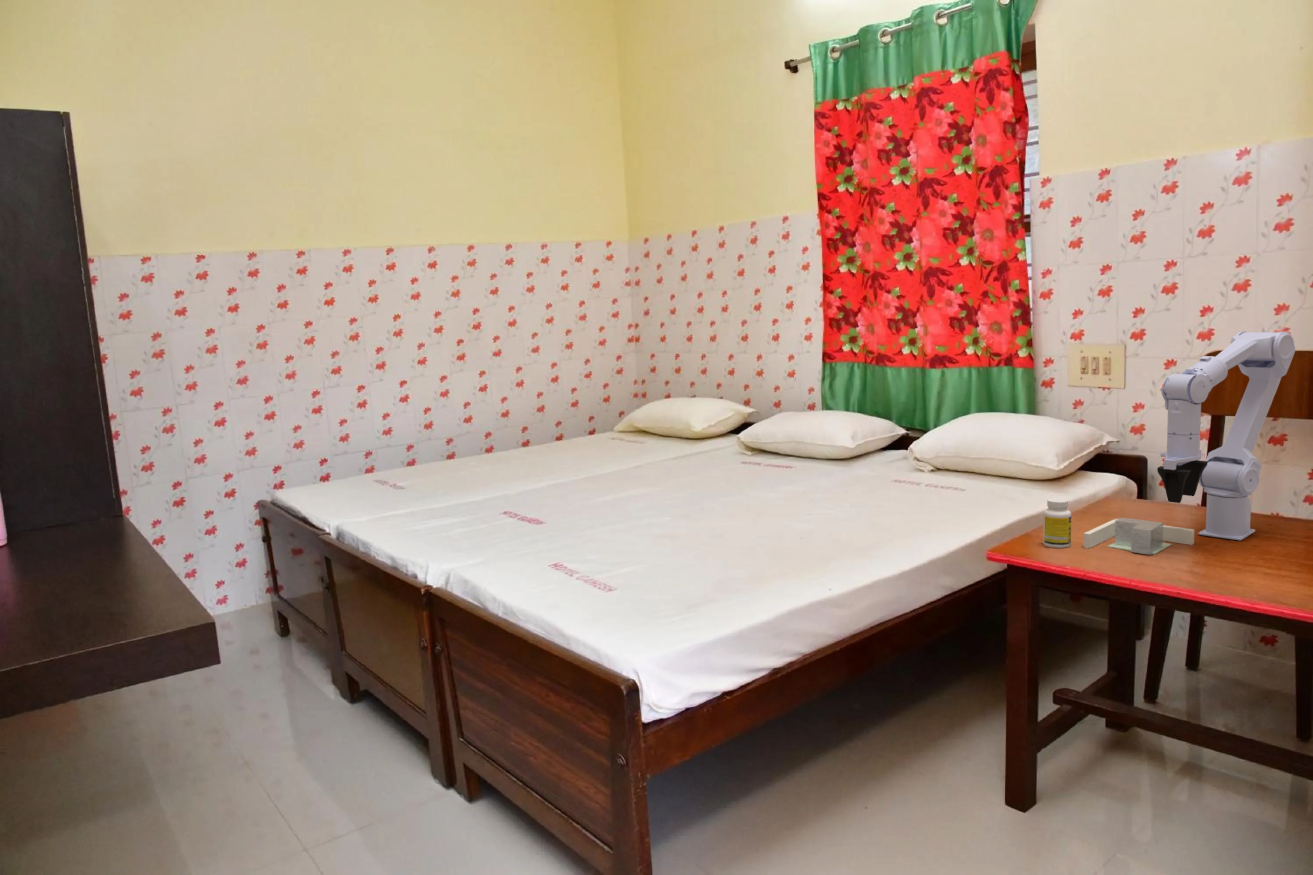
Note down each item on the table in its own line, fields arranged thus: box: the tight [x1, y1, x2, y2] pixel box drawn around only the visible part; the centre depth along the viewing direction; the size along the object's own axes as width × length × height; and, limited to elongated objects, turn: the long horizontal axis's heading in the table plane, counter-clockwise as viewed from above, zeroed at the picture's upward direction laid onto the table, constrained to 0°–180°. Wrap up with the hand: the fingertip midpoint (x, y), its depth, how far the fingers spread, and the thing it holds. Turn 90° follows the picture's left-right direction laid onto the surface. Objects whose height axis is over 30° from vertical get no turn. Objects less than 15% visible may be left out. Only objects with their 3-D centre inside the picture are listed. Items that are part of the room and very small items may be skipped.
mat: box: [1107, 542, 1172, 555], centre depth 182 cm, size 9×9×1 cm
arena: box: [1083, 518, 1195, 549], centre depth 182 cm, size 16×16×3 cm
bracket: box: [1114, 517, 1164, 556], centre depth 180 cm, size 8×8×5 cm
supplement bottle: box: [1042, 497, 1072, 549], centre depth 186 cm, size 5×5×10 cm
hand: (1181, 498), depth 179 cm, fingers open, 7 cm apart
